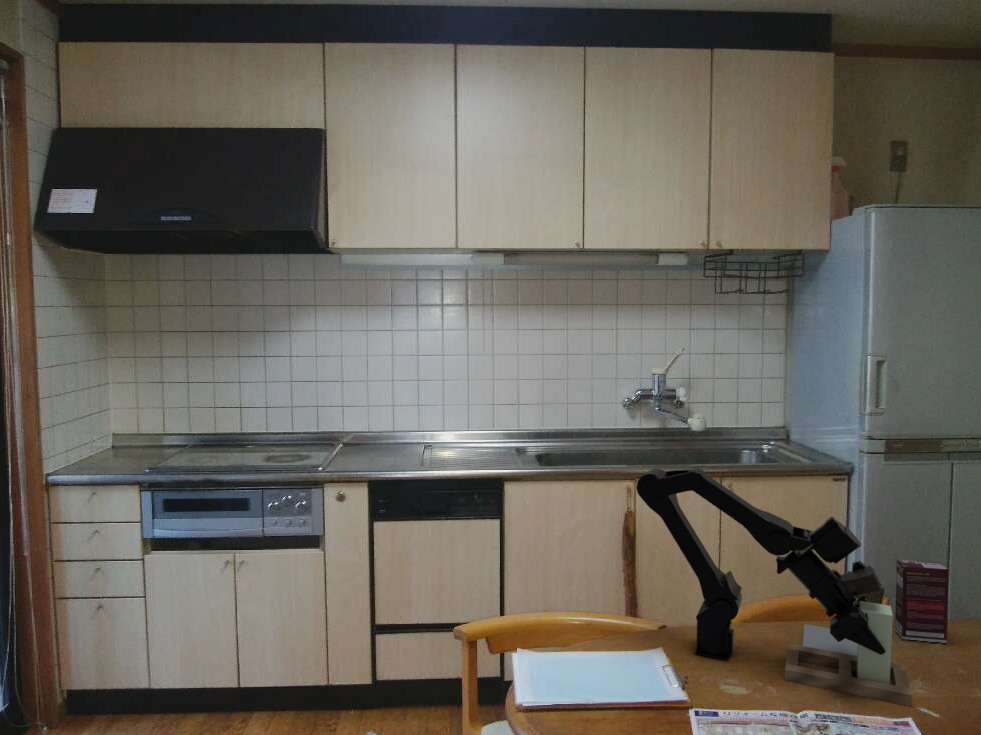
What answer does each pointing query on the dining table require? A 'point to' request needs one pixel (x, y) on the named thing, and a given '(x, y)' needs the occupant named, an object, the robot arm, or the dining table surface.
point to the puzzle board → (844, 675)
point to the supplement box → (921, 600)
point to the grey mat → (827, 640)
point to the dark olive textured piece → (873, 596)
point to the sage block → (881, 625)
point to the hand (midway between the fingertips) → (882, 646)
